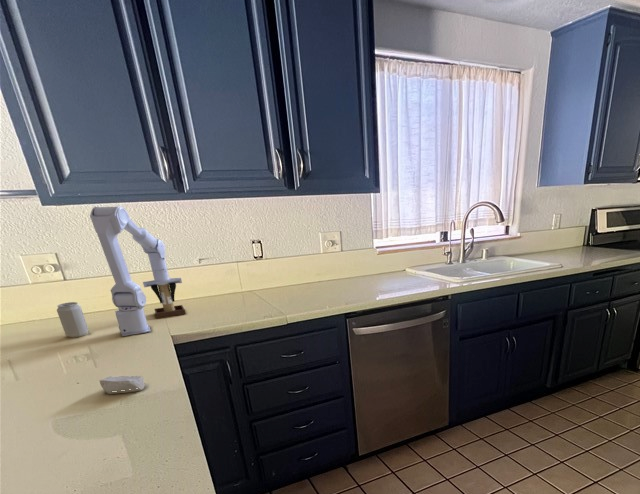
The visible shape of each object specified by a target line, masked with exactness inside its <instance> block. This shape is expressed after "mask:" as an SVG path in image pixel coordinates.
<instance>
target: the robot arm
mask: <svg viewBox="0 0 640 494" xmlns="http://www.w3.org/2000/svg"><path fill="white" fill-rule="evenodd" d="M89 217H90V221H91V223H92V226H93V229H94V231H95V233H96V234H97V235H96V236H97V237H98V240H99V242H100V246H101V248H102V251H103V254H104V256H105V259H106V262H107V265H108V267H109V270H110V273H111V275H112V278H113V280H114V283H115V284H114V285H113V286H112V287H111V288H110V293H111V301H112V303H113V305H114V307H116V308H118V310H115V311H114V312H115V317H116V320H117V324H118V329H119V331H120V334H121V337H127V336H134V335H138V334H145V333H151V328H150V325H149V324H148V321H147V317H146V314H145V310H144V308H145V306H146V304H147V297H146V294H145V293H144V291H143V290H142V288H141V285H139V284H138V283H136V282H134V281H133V279H132V277H131V274H130V272H129V268H128V266H127V263H126V260H125V256H124V254H123V251H122V248H121V246H120V242H119V239H118V235H119V234H120V233H122V232H123V231H124V230H125V231H126V232H128V233H129V234H131V235H132V239H133V241H134V242H136V243H137V244H139V245H140V247H141V248H142V250H143V252H144V254H147V256H148V260H149V264H150V269H151V272H152V277H153V279H154V280H148V281H147V280H146V281H142V284H143V288H149V287H150V288H151V290H152V291H153V292H154V294H155V296H156V297H157V299H158V300H159V303H160V304H162V300H161V297H160V293H159V288H158V285H157V284H162V283H169V287H170V292H171V295H172V300H173V303H174V302H175V294H176V293H175V292H176V288H177V284H183V280H182V278H181V277H173V278H170V275H169V271H168V266H167V263H166V259H165V258H166V245H165V243H164V242H163V241H162V240H161V239H160V238H156V237H154V236H153V235H152V234H151V233H150V232H149V231H148V230H147V229H146V228H145V227H139V226H138V225H137V224H136V223H135V222H134V221H133V220H132V219H131V218H130V215H129V211H127V210H126V209H125V208H124V207H123V206H121V205H117V206H93V207H92V209H91V211H90V214H89Z"/></svg>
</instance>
